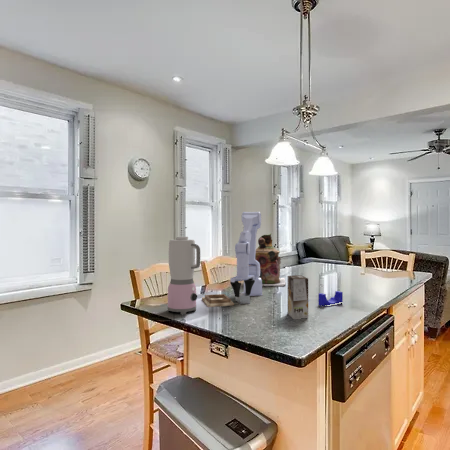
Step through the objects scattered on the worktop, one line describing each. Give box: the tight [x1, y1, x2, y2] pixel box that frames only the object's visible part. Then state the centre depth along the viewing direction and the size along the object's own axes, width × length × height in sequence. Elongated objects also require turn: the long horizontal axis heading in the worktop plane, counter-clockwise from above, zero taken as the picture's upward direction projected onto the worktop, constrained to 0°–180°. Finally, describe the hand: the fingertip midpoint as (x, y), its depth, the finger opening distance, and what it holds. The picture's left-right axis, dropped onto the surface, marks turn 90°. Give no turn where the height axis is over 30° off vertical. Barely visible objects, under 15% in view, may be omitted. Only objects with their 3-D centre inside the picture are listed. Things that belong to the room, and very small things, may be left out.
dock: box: [201, 293, 235, 308], centre depth 162 cm, size 12×16×3 cm
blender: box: [167, 236, 201, 315], centre depth 145 cm, size 16×12×32 cm
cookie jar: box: [255, 233, 287, 287], centre depth 216 cm, size 25×25×32 cm
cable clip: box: [318, 290, 344, 307], centre depth 158 cm, size 12×4×6 cm, turn 118°
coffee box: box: [287, 274, 309, 320], centre depth 138 cm, size 9×6×16 cm
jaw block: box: [235, 292, 251, 305], centre depth 163 cm, size 5×7×4 cm
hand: (242, 295), depth 163 cm, fingers open, 7 cm apart
